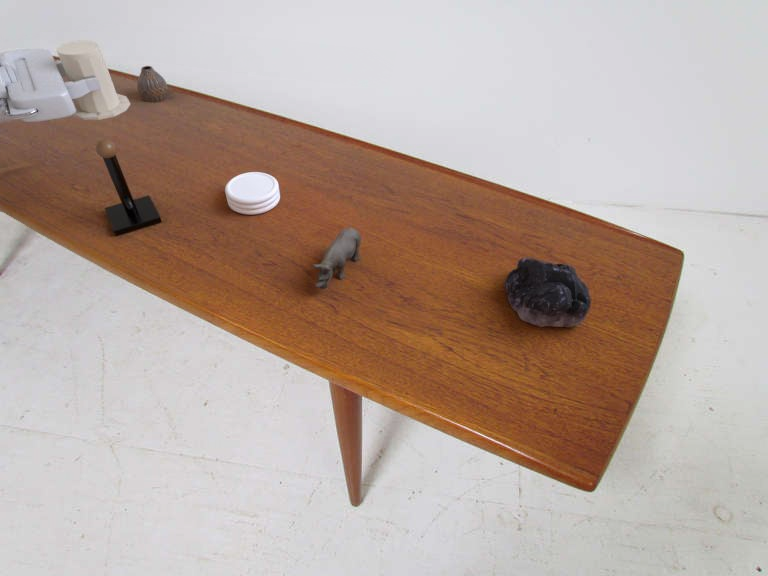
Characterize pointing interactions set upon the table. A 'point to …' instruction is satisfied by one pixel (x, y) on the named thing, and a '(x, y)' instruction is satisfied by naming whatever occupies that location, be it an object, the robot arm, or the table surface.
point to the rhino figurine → (338, 256)
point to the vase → (152, 85)
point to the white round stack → (252, 193)
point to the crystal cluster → (547, 293)
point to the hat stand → (125, 197)
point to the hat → (90, 62)
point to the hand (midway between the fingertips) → (94, 73)
